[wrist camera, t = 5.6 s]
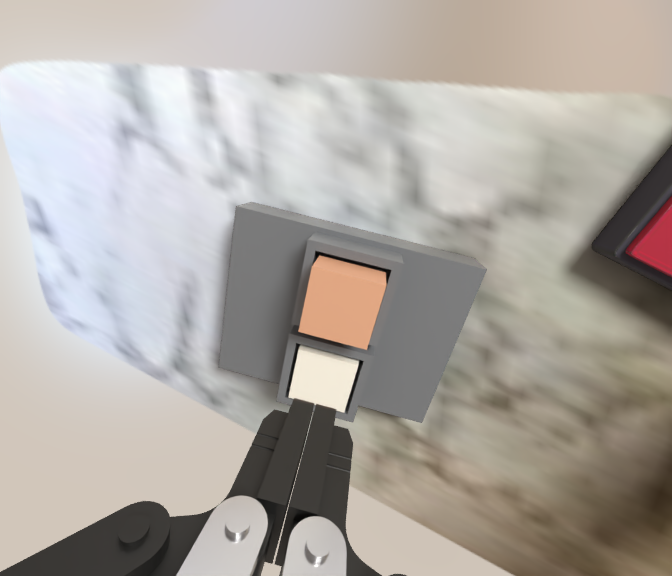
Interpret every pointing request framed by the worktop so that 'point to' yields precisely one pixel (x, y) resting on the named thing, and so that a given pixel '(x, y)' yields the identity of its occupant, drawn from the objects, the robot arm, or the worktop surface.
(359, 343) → the peach key
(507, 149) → the worktop surface
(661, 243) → the calculator
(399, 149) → the worktop surface
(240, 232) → the push button base
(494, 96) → the worktop surface
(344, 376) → the cream key
